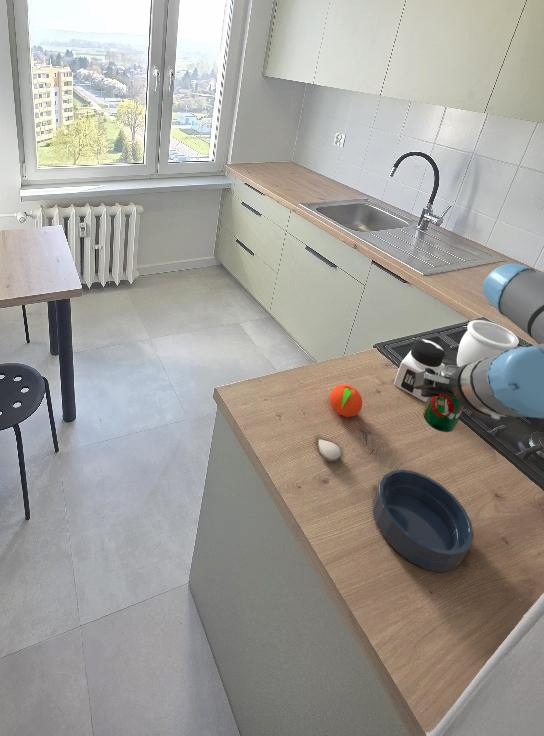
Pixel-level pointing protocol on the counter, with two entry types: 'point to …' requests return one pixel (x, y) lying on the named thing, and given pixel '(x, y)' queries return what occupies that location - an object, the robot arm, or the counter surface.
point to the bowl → (422, 520)
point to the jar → (484, 342)
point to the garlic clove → (329, 450)
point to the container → (419, 365)
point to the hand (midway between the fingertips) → (441, 395)
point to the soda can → (443, 407)
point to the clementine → (346, 400)
